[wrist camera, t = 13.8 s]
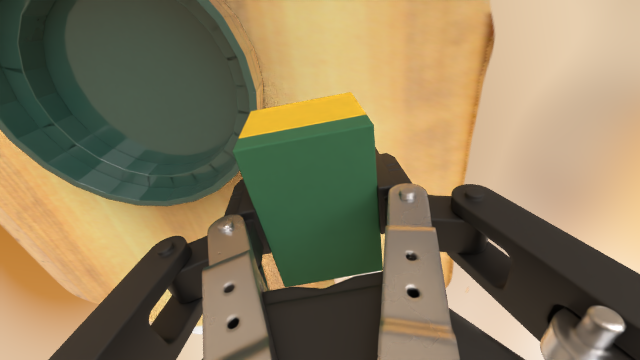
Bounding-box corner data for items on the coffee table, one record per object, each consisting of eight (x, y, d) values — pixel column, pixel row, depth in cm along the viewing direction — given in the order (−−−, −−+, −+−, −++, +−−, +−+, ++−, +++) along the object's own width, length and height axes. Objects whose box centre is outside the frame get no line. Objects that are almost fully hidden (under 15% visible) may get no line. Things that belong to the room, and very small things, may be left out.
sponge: (250, 110, 12) (231, 150, 8) (351, 91, 12) (374, 124, 8) (287, 227, 15) (284, 288, 12) (364, 214, 15) (383, 271, 12)
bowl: (-48, -28, 19) (-150, -40, 14) (217, -87, 18) (193, -118, 14) (112, 192, 29) (81, 222, 25) (285, 159, 28) (283, 184, 24)
